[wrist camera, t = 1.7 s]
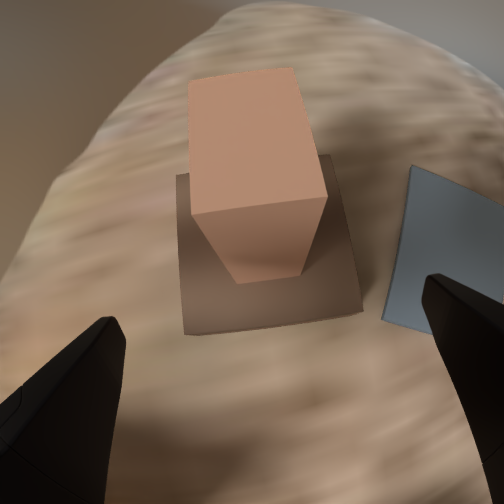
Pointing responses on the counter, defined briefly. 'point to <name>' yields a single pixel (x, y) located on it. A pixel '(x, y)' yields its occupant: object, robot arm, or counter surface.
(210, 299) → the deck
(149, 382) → the counter surface
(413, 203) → the mat
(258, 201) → the tall peach block
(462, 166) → the counter surface
